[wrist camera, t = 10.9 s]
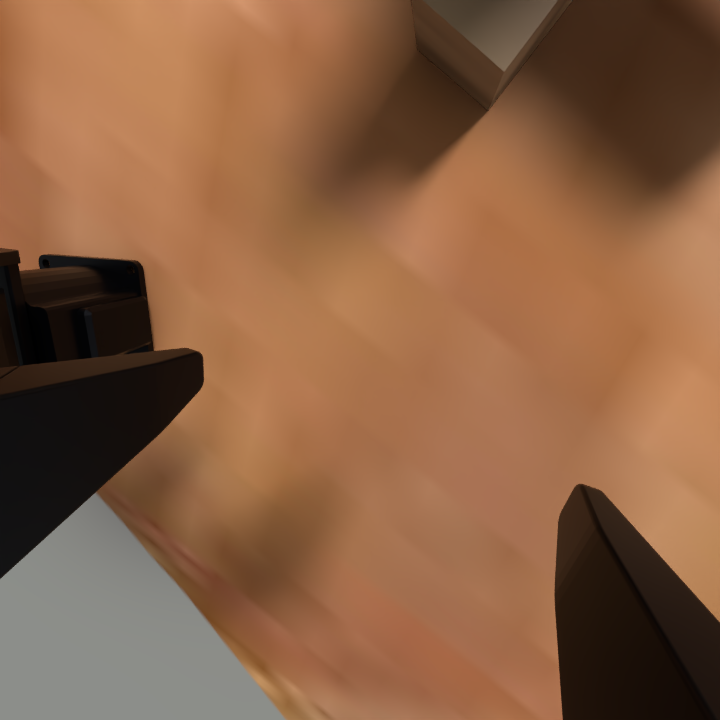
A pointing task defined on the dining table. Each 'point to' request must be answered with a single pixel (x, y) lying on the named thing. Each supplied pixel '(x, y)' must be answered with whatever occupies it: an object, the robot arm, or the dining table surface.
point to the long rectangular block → (483, 39)
